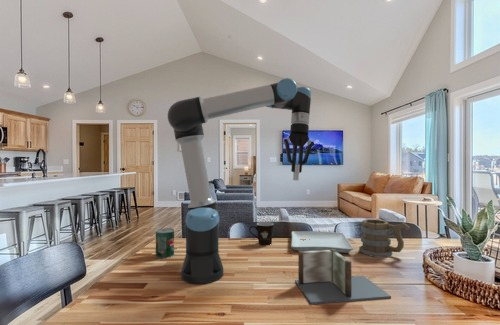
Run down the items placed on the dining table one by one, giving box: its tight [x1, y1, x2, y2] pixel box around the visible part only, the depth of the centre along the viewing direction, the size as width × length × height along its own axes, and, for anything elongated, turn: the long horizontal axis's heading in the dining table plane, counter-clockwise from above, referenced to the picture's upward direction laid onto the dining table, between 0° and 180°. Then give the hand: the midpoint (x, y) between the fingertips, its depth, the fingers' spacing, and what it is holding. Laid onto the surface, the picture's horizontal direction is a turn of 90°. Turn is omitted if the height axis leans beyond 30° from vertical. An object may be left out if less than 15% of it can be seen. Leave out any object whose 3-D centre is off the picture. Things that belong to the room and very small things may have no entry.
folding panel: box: [333, 252, 352, 297], centre depth 86 cm, size 10×2×10 cm, turn 7°
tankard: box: [358, 218, 411, 258], centre depth 121 cm, size 20×13×15 cm, turn 44°
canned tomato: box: [155, 227, 175, 259], centre depth 121 cm, size 8×8×11 cm
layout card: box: [294, 275, 392, 305], centre depth 88 cm, size 25×15×1 cm, turn 98°
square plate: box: [290, 230, 355, 254], centre depth 135 cm, size 27×27×4 cm
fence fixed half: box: [297, 249, 336, 284], centre depth 92 cm, size 13×2×10 cm, turn 98°
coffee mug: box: [248, 221, 275, 246], centre depth 138 cm, size 12×9×10 cm
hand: (295, 180), depth 113 cm, fingers closed
